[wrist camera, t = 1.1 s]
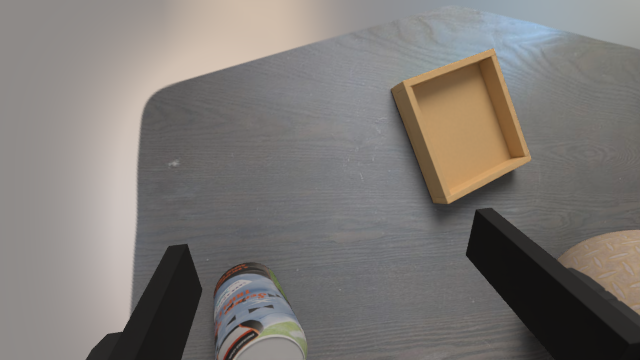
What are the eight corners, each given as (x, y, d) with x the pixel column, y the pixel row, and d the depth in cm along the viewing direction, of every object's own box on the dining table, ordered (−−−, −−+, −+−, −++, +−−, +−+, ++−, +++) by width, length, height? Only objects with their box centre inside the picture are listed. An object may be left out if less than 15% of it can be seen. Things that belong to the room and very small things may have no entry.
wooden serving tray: (390, 89, 34) (402, 81, 31) (476, 57, 37) (493, 47, 35) (433, 203, 35) (448, 204, 32) (512, 161, 38) (532, 160, 36)
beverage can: (246, 246, 29) (252, 286, 17) (298, 292, 30) (335, 358, 18) (199, 296, 27) (170, 375, 16) (255, 342, 29) (266, 447, 17)
